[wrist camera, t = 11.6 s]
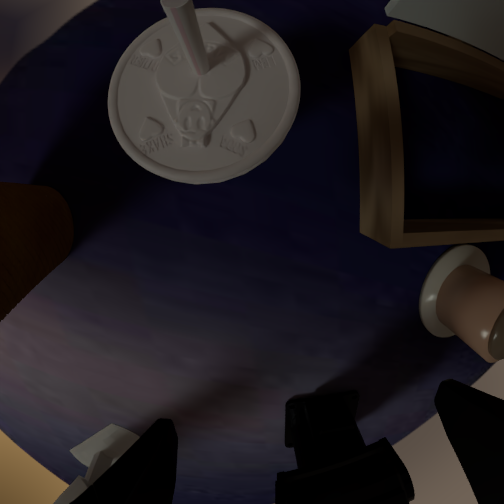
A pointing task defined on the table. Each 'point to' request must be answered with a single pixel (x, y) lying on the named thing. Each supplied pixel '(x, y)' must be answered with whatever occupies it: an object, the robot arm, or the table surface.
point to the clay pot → (474, 310)
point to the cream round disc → (436, 277)
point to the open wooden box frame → (390, 128)
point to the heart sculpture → (98, 457)
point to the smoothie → (203, 94)
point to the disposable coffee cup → (30, 238)
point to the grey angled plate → (457, 20)
